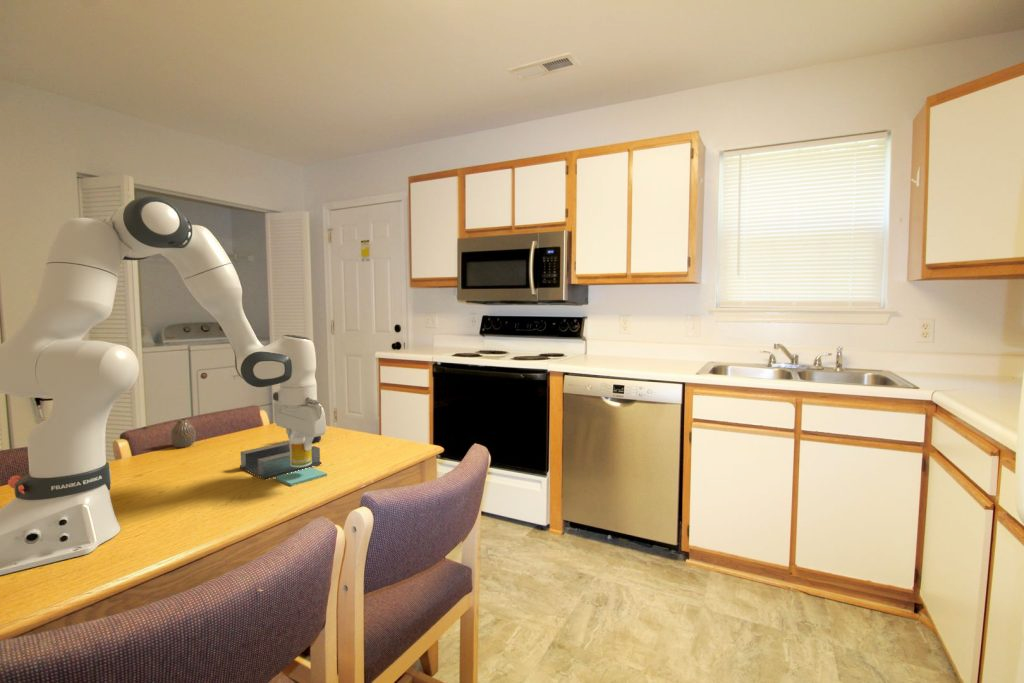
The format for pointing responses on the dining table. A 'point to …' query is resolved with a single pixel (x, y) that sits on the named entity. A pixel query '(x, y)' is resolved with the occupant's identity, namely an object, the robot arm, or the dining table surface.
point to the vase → (183, 434)
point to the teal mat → (300, 476)
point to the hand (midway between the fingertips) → (300, 447)
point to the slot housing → (273, 460)
